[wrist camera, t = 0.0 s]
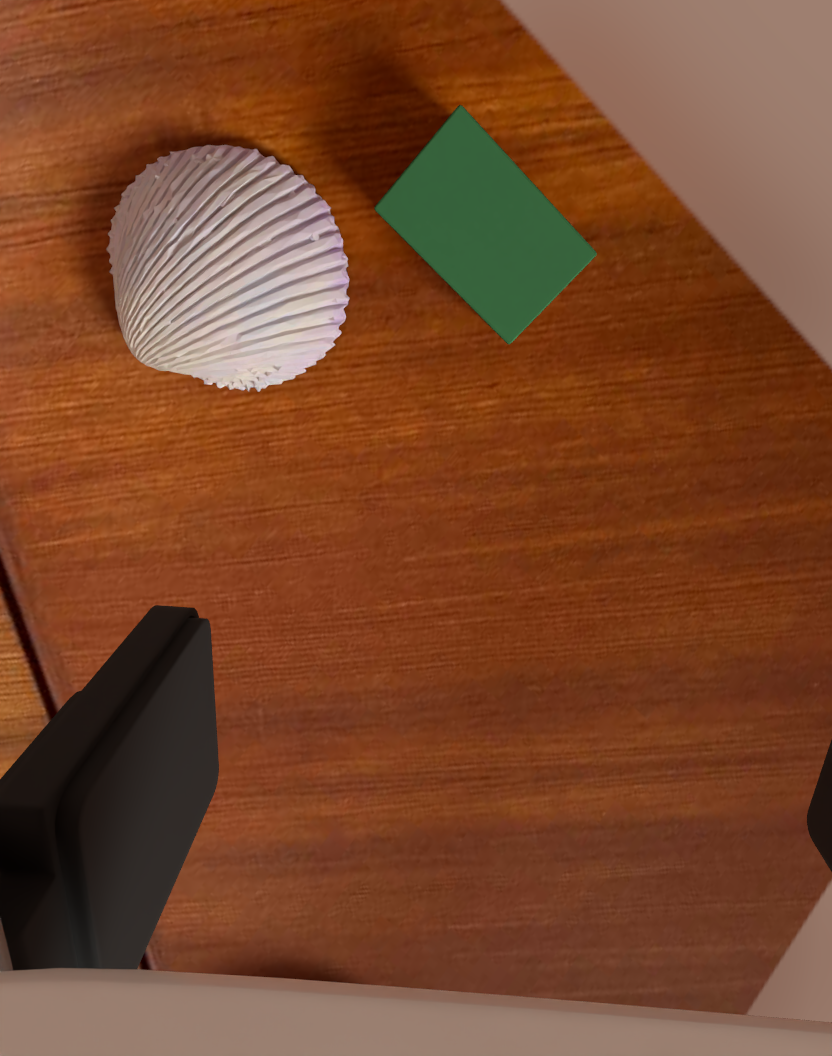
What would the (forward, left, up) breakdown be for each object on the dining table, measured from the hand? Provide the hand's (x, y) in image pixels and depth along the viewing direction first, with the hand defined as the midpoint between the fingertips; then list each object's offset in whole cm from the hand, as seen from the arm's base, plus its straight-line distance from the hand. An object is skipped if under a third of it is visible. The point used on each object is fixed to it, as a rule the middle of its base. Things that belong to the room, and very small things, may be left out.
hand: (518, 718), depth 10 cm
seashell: (-5, -11, -24) cm, 26 cm away
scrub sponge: (-7, 0, -23) cm, 24 cm away
